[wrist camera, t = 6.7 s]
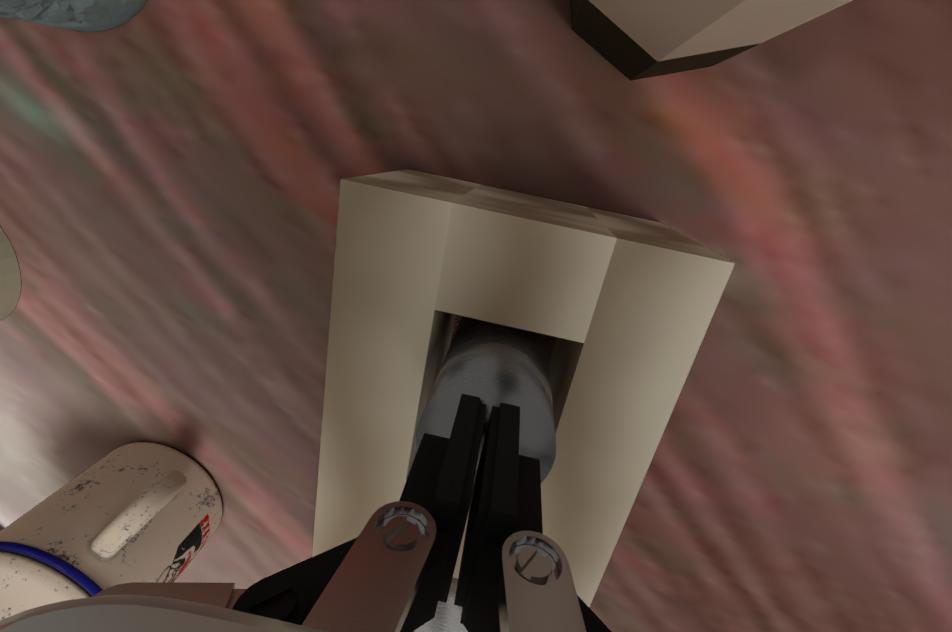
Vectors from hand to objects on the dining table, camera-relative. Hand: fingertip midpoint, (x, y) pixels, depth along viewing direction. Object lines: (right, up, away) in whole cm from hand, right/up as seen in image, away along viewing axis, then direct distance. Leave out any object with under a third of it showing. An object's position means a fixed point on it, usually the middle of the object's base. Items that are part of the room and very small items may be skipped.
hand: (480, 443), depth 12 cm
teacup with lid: (-20, -8, +18) cm, 28 cm away
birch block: (0, -3, +13) cm, 13 cm away
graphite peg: (+1, +3, +8) cm, 8 cm away
